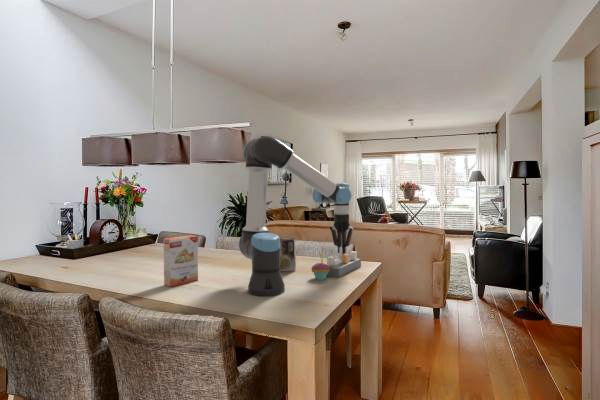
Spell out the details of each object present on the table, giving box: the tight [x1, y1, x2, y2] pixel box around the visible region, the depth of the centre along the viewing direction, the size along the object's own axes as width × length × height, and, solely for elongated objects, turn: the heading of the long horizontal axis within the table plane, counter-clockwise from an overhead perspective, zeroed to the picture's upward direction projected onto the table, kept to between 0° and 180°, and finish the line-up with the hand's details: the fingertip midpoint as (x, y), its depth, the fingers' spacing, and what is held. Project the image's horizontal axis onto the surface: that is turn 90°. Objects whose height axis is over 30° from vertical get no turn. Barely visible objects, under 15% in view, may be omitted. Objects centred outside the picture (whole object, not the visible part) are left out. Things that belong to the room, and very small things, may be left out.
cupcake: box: [311, 252, 330, 281], centre depth 163 cm, size 9×8×12 cm
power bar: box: [326, 257, 362, 278], centre depth 178 cm, size 26×9×4 cm, turn 147°
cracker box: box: [163, 234, 199, 288], centre depth 157 cm, size 14×6×21 cm, turn 139°
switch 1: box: [326, 256, 335, 266], centre depth 171 cm, size 3×2×4 cm
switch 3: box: [349, 250, 358, 260], centre depth 184 cm, size 3×2×4 cm
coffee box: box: [279, 237, 297, 272], centre depth 179 cm, size 9×6×16 cm
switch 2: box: [342, 253, 350, 263], centre depth 177 cm, size 3×2×4 cm
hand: (341, 259), depth 178 cm, fingers closed
